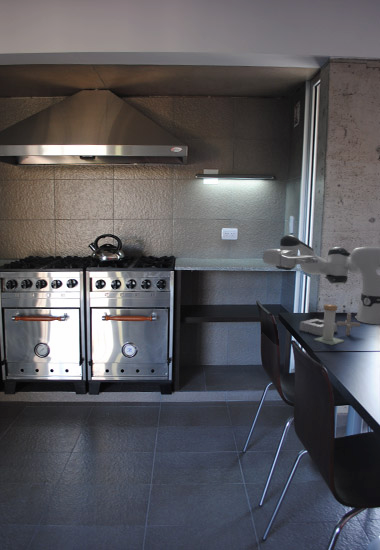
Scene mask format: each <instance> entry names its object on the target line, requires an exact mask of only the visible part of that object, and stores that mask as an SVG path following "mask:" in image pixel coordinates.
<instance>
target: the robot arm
mask: <svg viewBox="0 0 380 550" xmlns="http://www.w3.org/2000/svg"><path fill="white" fill-rule="evenodd" d="M279 241H280V242H279V245H280V246H279V248H267V249H265V250H264V252H263V255H262V260H263V263H264V264H267V265H270V266H274V267H276V269H277V270H284V271H291V270H293V269H295V267H296V265H300V269H301V270H302V271H303V272H304V273H306V274H309V275H313V276H317V275H318V276H319V275H320V276H321V275H325V276H324V278H325V279H327V281H328V282H329V283H330V284H333V285H335V286H342V285H345V284H346V283H347V282H348V272H350V273H352V274H360V275H361V279H362V292H361V294H360V301H359V303H358V307H357V313H356V315H354V318H355V319H356V321H358V322H359V323H365V324H370V325H380V274H378V271H380V246H359V247H355V248H354V249H353V250H352V251H351V252H349V251H348V250H347V249H346V248H344V247H340V246H336V247H335V246H334V247H331V248H330V249H329V250H328V251H327V256H328V258H327V259H325V258H323V257H322V256H318V255H316V253H315V250H314V249H313V247H311V246H310V245H309V244H307V243H305V242H303V241H302V240H301V239H299V238H298V237H296V236H294V235H291V234H286V235H284V236H283V237H282V238H281V239H280V240H279ZM298 253H299V255H298Z"/></svg>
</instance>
